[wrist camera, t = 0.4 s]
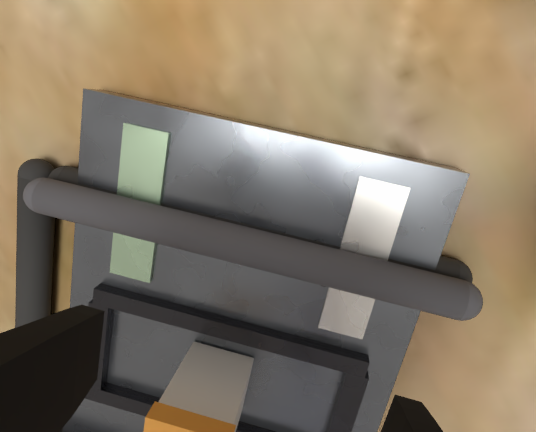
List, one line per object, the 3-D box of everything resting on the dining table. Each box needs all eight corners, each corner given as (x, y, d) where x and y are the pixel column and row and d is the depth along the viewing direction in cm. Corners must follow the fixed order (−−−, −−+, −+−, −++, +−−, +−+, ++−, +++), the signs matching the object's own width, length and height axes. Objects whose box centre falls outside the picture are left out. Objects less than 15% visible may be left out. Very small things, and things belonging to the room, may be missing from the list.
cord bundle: (368, 524, 22) (374, 587, 19) (27, 419, 24) (-15, 463, 21) (470, 258, 18) (498, 289, 15) (34, 153, 19) (-19, 162, 16)
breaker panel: (321, 558, 24) (320, 600, 22) (73, 480, 25) (51, 512, 23) (457, 168, 17) (475, 176, 15) (103, 89, 18) (74, 88, 16)
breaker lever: (244, 410, 20) (216, 508, 15) (182, 392, 20) (136, 483, 15) (256, 356, 19) (230, 442, 14) (192, 339, 19) (145, 417, 14)
